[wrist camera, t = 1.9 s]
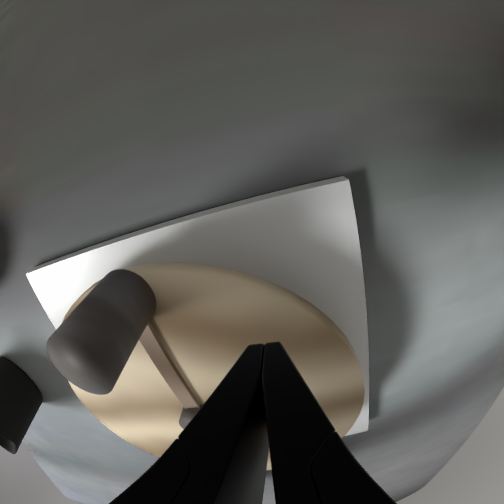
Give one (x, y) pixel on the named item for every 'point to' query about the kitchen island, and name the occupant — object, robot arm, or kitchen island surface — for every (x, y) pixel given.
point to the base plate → (244, 256)
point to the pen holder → (16, 404)
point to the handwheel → (192, 347)
